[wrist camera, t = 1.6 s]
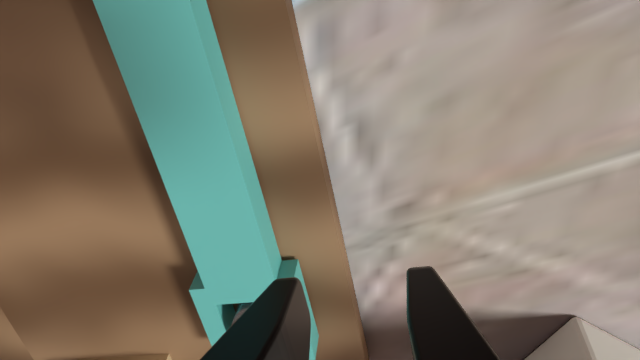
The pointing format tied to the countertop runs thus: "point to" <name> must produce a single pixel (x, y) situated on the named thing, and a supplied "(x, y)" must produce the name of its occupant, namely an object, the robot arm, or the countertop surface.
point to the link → (199, 152)
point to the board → (145, 190)
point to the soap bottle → (583, 344)
